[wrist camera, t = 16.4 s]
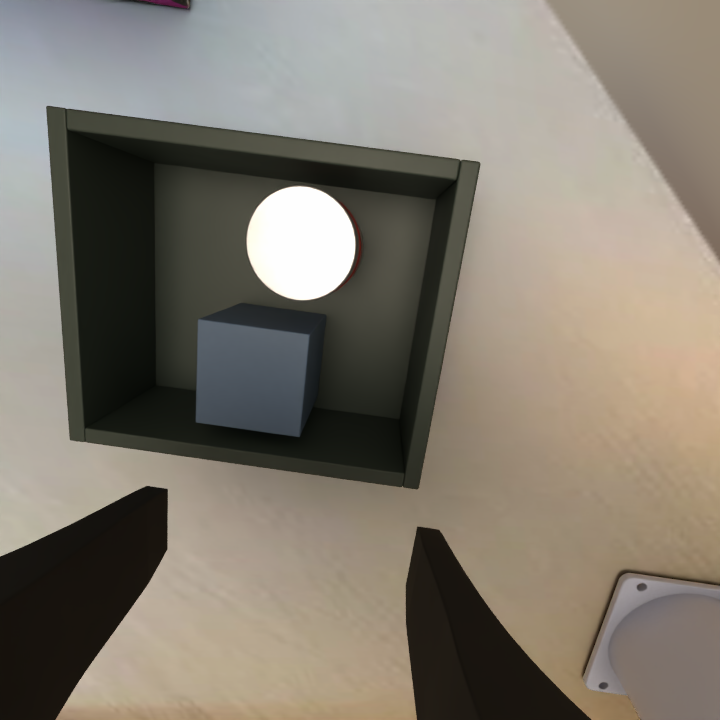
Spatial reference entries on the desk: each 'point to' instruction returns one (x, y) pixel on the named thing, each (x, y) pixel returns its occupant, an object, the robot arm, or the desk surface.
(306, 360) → the dark blue rectangular block
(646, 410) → the desk surface
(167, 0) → the candy bar box
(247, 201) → the dark olive open box
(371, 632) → the desk surface
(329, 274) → the can
